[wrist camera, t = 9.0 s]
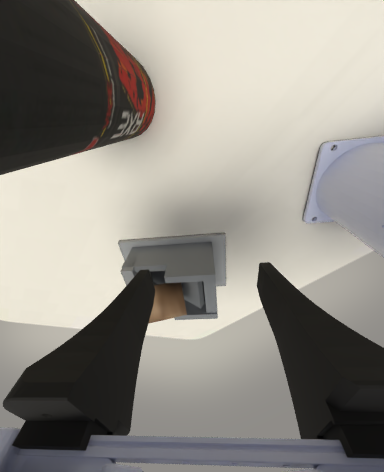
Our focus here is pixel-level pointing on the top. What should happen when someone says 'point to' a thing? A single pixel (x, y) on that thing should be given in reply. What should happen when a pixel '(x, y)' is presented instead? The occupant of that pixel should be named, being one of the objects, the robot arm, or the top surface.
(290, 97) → the top surface
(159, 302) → the dowel
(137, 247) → the socket
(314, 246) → the top surface
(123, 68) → the deodorant
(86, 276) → the top surface
